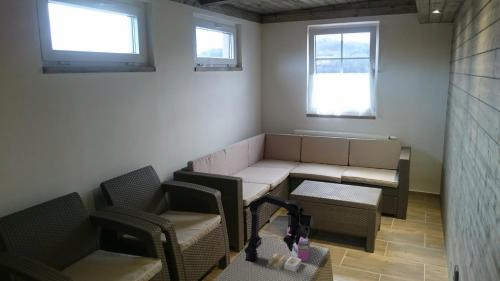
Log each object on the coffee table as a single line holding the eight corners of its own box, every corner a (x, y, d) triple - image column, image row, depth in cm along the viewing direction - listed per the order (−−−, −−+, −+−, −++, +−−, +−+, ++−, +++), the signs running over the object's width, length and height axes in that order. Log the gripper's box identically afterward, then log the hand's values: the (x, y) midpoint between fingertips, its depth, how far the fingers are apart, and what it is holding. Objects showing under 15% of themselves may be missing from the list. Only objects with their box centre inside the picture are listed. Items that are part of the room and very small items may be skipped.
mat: (265, 266, 225) (265, 266, 225) (274, 257, 236) (274, 256, 236) (279, 270, 221) (279, 269, 221) (287, 260, 232) (287, 259, 232)
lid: (268, 265, 225) (268, 261, 225) (275, 257, 235) (275, 253, 234) (278, 268, 222) (278, 263, 222) (285, 260, 232) (285, 255, 231)
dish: (284, 269, 222) (284, 263, 221) (290, 261, 231) (290, 256, 230) (295, 272, 219) (295, 266, 218) (301, 264, 228) (301, 259, 227)
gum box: (285, 244, 253) (285, 225, 250) (296, 243, 255) (297, 224, 252) (297, 262, 230) (298, 241, 227) (309, 260, 232) (310, 240, 229)
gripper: (301, 232, 203) (301, 258, 206) (313, 220, 219) (312, 244, 222) (283, 227, 208) (282, 253, 211) (296, 216, 224) (295, 240, 227)
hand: (294, 248), depth 218 cm, fingers open, 9 cm apart
